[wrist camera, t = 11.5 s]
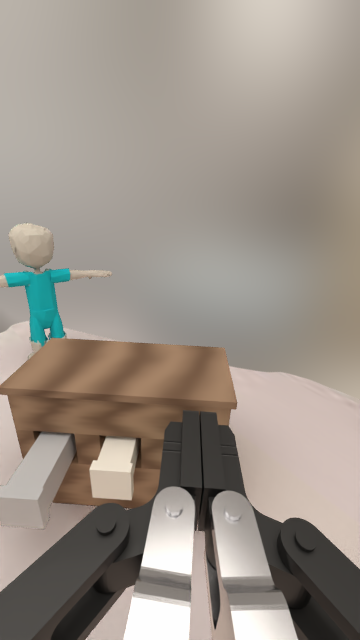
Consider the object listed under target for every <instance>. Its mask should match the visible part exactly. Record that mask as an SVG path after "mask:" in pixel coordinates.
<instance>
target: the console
mask: <svg viewBox="0 0 360 640" xmlns="http://www.w3.org/2000/svg"><path fill="white" fill-rule="evenodd" d="M0 394H2V395H7V396H8V400H9V404H10V408H11V412H12V416H13V420H14V424H15V428H16V433H17V437H18V441H19V445H20V449H21V453H22V457H23V459H24V457H25V456H26V454H27V453H28V451H29V450H30V449H31V447H32V446H33V444H34V443H35V441H36V440H37V438H38V437H39V435H40V434H41V432H42V431H43V432H58V433H73V434H74V435H75V442H76V450H77V451H76V453H75V456H74V458H73V460H72V462H71V464H70V466H69V468H68V470H67V472H66V474H65V476H64V479H63V481H62V483H61V485H60V487H59V489H58V491H57V493H56V495H55V497H54V499H53V503H67V504H81V505H94V506H100V505H102V504H106V503H116V504H119V505H121V506H122V507H123V508H137V507H140V506H143V505H144V504H146V503H148V502H149V501H150V500H151V499H152V498H153V497H154V495H155V494H156V492H157V489H158V485H159V477H160V468H161V459H162V451H163V442H164V433H165V429H166V428H167V426H168V425H169V423H170V421H172V422H182V415H183V410H190V411H199V414H200V411H205V412H216V414H217V421H218V425H228V426H229V419H230V412H231V409H236V407H237V400H236V395H235V391H234V387H233V382H232V378H231V374H230V369H229V365H228V361H227V356H226V352H225V348H218V347H201V346H184V345H167V344H148V343H132V342H116V341H98V340H81V339H64V338H51V339H50V340H49V341H48V342H47V343H46V344H45V345H44V346H43V347H42V348H41V349H39V350H38V351H37V352H36V353H35V354H34V355H33V356H32V357H31V358H30V359H29V360H28V361H26V362H25V363H24V364H23V365H22V366H21V367H20V368H19V369H18V370H17V371H16V372H14V373H13V374H12V375H11V376H10V377H9V378H8V379H7V380H6V381H5V382H4V383H3V384H1V385H0ZM106 436H119V437H134V438H141V443H140V448H139V452H138V457H137V461H136V466H135V471H134V475H133V486H134V491H133V496H132V500H120V499H106V498H93V496H92V488H91V479H90V471H89V469H90V467H91V464H92V462H93V460H96V461H97V460H98V457H99V455H100V452H101V449H102V447H103V444H104V441H105V439H106Z"/></svg>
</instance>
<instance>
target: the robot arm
mask: <svg viewBox="0 0 360 640" xmlns="http://www.w3.org/2000/svg"><path fill="white" fill-rule="evenodd" d="M197 522H198V531H205V551H204V563H205V573H206V583H207V593H208V603H209V613H210V623H211V637H212V640H360V569H359V568H358V567H357V566H356V565H355V564H354V563H353V562H351V561H350V560H349V559H348V558H347V557H346V556H345V555H344V554H343V553H342V552H341V551H340V550H339V549H338V548H337V547H336V546H335V545H334V544H333V543H332V542H331V541H330V540H328V539H327V538H326V537H325V536H324V535H323V534H322V533H321V532H320V531H319V530H318V529H317V528H316V527H315V526H314V525H312V524H311V523H309V522H308V521H306V520H304V519H301V518H290V519H287V520H286V521H285V522H284V523H281V522H279V521H276V520H274V519H272V518H269V517H267V516H265V515H263V514H261V513H260V512H258V511H257V510H256V509H255V508H254V507H253V506H252V505H251V503H250V502H249V500H248V499H247V496H246V493H245V489H244V484H243V478H242V473H241V468H240V463H239V457H238V452H237V448H236V441H235V436H234V434H233V432H232V431H231V429H230V428H229V426H228V425H218V421H217V414H216V412H205V411H200V414H199V411H190V410H183V415H182V422H172V421H170V423H169V425H168V426H167V428H166V429H165V433H164V442H163V451H162V459H161V468H160V477H159V485H158V489H157V492H156V494H155V495H154V497H153V498H152V499H151V500H150V501H149V502H148V503H146V504H144V505H143V506H140V507H137V508H133V509H130V510H125V509H124V508H123V507H122V506H121V505H119V504H116V503H106V504H102V505H100V506H98V507H97V508H95V509H94V510H93V511H92V512H91V513H89V514H88V515H87V516H86V517H85V518H84V519H83V520H81V521H80V522H79V523H78V524H77V525H76V526H75V527H74V528H72V529H71V530H70V531H69V532H68V533H67V534H66V535H64V536H63V537H62V538H61V539H60V540H59V541H58V542H57V543H55V544H54V545H53V546H52V547H51V548H50V549H49V550H48V551H46V552H45V553H44V554H43V555H42V556H41V557H40V558H38V559H37V560H36V561H35V562H34V563H33V564H32V565H31V566H29V567H28V568H27V569H26V570H25V571H24V572H23V573H21V574H20V575H19V576H18V577H17V578H16V579H15V580H14V581H12V582H11V583H10V584H9V585H8V586H7V587H6V588H5V589H3V590H2V591H1V592H0V640H85V639H86V638H87V637H88V635H89V634H90V633H91V632H92V630H93V629H94V628H95V627H96V625H97V624H98V623H99V622H100V620H101V619H102V618H103V617H104V615H105V614H106V613H107V612H108V610H109V609H110V608H111V607H112V605H113V604H114V603H115V602H116V600H117V599H118V598H119V597H120V595H121V594H122V593H123V592H124V590H125V589H126V588H127V587H130V586H132V585H135V587H134V592H133V596H132V601H131V606H130V611H129V616H128V621H127V626H126V630H125V635H124V640H189V624H190V606H191V570H192V553H193V538H194V531H196V529H197Z"/></svg>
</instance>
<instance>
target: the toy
mask: <svg viewBox="0 0 360 640" xmlns="http://www.w3.org/2000/svg"><path fill="white" fill-rule="evenodd" d="M9 239H10V244H11V247H12V250H13V253H14V254H15V256H16V258H17V260H18V261H19V263H21V264H23V265H25V266H27V267H31V268H34V269H35V272H34V273H32V272H28V271H23V272H18V273H5V274H4V275H1V276H0V287H15V286H25V289H26V294H27V299H28V303H29V309H30V333H31V336H30V338H29V340H30V343H31V345H32V348H33V351H34V352H33V353H31V354H30V355H29V356H28V360H29V359H30V358H31V357H32V356H33V355H34V354H35V353H36V352H37V351H38V350H39V349H41V348H42V347H43V346H44V345H45V344H46V343H47V342H48V341H49V340H50V339H51V338H64V339H67V338H66V333H65V332H64V331H63V325H62V321H61V318H60V316H59V313H58V308H57V302H56V294H55V288H54V283H58V282H66V281H69V280H74V279H79V278H84V277H88V278H89V279H91V278H92V277H107V276H111V275H112V273H111V272H110V271H104V270H100V271H95V270H89V271H79V270H78V271H77V270H69V269H58V270H51V269H45V271H44V272H41V271H40V269H39V268H40V267H42V266H44V265H45V264H47V263H49V262H50V260H51V259H52V257H53V250H54V242H53V234H52V233H51V232H50V231H49V230H48V229H47V228H44V227H41V226H36V225H33V224H31V223H28V225H27V223H25V224H22V225H20V224H18V225H16V226H15V227H14V228H12V230H11V231H10V233H9ZM48 328H50V333H49V336H48V337H49V340H48V338H47V337H46V335H45V331H44V329H48Z"/></svg>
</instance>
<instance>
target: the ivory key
mask: <svg viewBox="0 0 360 640" xmlns="http://www.w3.org/2000/svg"><path fill="white" fill-rule="evenodd" d="M140 443H141V438H134V437H119V436H106V439H105V441H104V444H103V447H102V449H101V452H100V455H99V457H98V460H97V461H96V460H93V462H92V464H91V467H90V469H89V471H90V479H91V488H92V496H93V498H106V499H120V500H132V496H133V491H134V486H133V475H134V471H135V466H136V461H137V457H138V452H139V448H140Z"/></svg>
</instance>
